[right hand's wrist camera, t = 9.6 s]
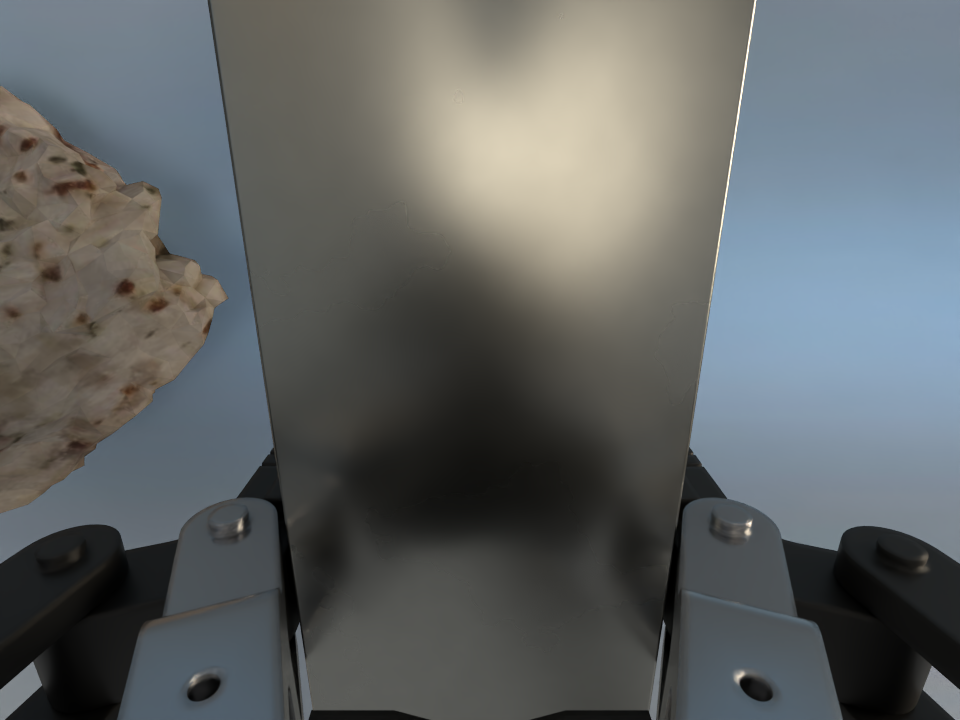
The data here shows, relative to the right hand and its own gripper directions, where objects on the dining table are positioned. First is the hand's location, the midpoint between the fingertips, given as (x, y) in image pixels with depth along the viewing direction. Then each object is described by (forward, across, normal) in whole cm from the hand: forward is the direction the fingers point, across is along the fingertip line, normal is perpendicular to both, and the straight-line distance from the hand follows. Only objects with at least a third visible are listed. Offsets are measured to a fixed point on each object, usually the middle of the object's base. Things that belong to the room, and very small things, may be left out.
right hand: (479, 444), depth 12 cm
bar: (+4, 0, -10) cm, 11 cm away
